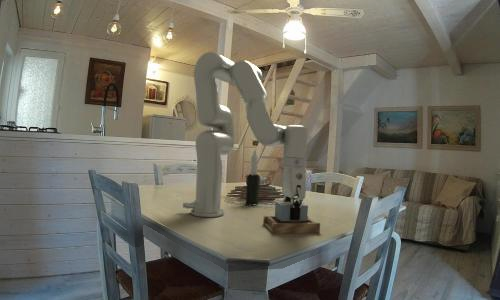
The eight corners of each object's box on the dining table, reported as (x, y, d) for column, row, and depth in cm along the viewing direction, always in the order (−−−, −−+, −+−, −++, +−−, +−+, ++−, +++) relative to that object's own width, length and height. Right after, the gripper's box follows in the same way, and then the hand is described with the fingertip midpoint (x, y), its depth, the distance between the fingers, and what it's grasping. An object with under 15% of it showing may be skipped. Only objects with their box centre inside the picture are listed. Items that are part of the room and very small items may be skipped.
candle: (259, 203, 136) (262, 149, 136) (255, 205, 131) (258, 149, 131) (248, 202, 138) (251, 149, 137) (245, 204, 133) (247, 149, 133)
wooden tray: (272, 233, 91) (272, 224, 91) (263, 224, 101) (263, 215, 101) (319, 232, 95) (320, 223, 95) (306, 224, 104) (307, 215, 104)
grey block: (281, 221, 94) (282, 204, 93) (274, 216, 99) (275, 201, 99) (307, 220, 96) (308, 204, 96) (299, 216, 102) (300, 201, 102)
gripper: (316, 165, 90) (312, 224, 90) (294, 161, 107) (291, 211, 107) (293, 164, 88) (289, 224, 88) (275, 160, 105) (272, 211, 105)
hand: (290, 216), depth 98 cm, fingers closed on grey block, 6 cm apart
